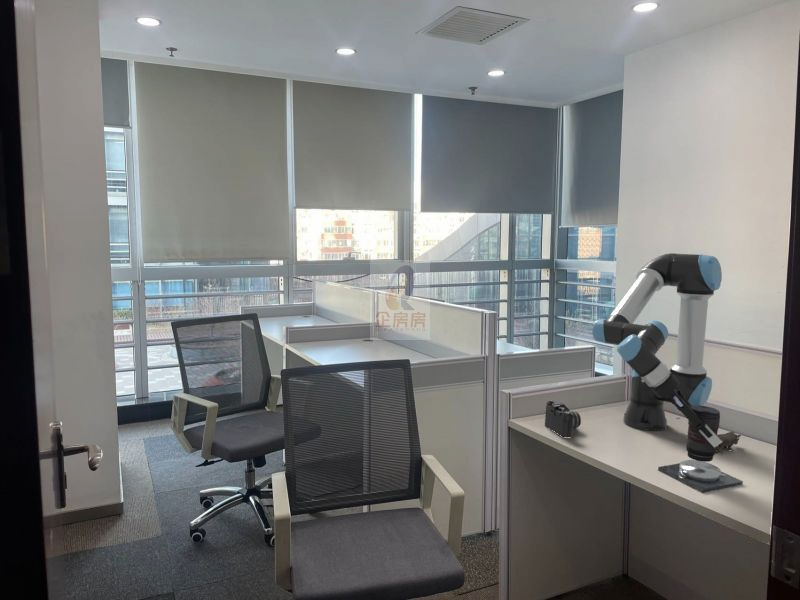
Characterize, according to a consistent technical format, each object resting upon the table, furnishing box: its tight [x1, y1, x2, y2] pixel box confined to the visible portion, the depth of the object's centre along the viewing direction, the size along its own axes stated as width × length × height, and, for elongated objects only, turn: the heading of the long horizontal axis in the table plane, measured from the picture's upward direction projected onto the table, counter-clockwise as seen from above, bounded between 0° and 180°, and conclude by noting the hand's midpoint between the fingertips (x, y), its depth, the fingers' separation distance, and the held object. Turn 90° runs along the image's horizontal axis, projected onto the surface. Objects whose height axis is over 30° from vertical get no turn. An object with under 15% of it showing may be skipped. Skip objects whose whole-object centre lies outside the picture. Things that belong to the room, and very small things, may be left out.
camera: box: [544, 399, 582, 438], centre depth 211 cm, size 14×11×10 cm
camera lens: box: [685, 405, 721, 463], centre depth 173 cm, size 8×8×15 cm
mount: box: [657, 459, 744, 494], centre depth 175 cm, size 16×16×3 cm
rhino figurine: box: [715, 431, 742, 454], centre depth 197 cm, size 4×14×6 cm, turn 119°
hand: (715, 439), depth 172 cm, fingers closed on camera lens, 8 cm apart
